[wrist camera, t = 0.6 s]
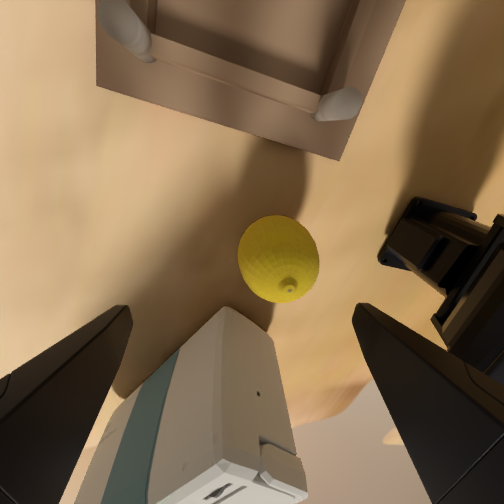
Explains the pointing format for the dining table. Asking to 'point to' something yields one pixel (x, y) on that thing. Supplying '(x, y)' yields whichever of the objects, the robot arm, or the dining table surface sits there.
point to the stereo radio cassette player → (203, 428)
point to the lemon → (278, 259)
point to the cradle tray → (250, 62)
